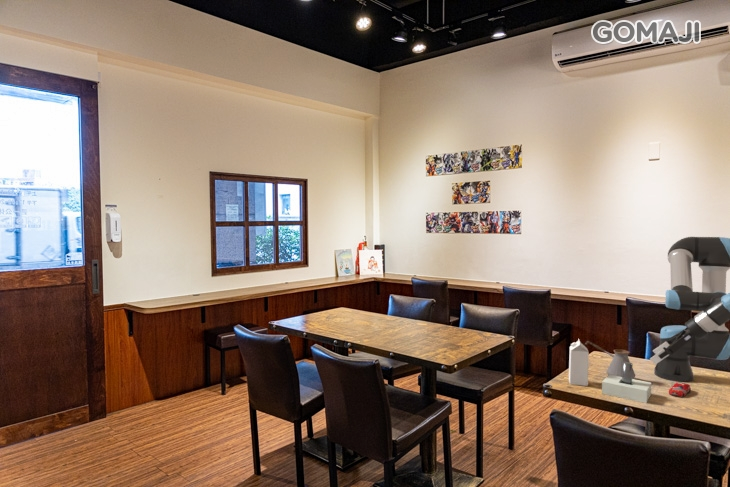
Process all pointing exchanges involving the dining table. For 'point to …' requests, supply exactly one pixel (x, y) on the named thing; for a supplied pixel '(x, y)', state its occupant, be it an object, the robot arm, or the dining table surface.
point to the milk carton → (578, 364)
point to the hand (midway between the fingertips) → (653, 357)
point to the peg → (627, 373)
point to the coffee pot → (616, 361)
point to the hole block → (626, 389)
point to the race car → (680, 389)
